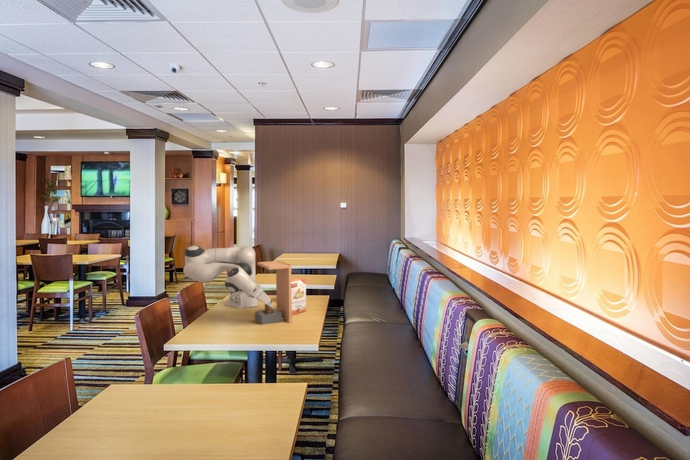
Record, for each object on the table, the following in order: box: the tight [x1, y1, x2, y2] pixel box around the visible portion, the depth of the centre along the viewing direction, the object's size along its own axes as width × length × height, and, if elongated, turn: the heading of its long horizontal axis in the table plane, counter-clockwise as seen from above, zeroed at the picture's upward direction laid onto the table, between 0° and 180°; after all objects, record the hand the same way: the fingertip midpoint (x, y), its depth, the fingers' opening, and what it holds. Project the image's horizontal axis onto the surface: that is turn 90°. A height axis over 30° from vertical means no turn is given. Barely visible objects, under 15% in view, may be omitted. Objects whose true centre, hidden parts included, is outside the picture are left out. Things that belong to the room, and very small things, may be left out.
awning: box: [256, 260, 293, 324], centre depth 244 cm, size 13×20×33 cm, turn 30°
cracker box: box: [291, 277, 307, 316], centre depth 259 cm, size 14×6×21 cm, turn 143°
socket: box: [254, 308, 283, 325], centre depth 243 cm, size 12×12×5 cm
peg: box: [264, 299, 273, 314], centre depth 243 cm, size 4×4×12 cm
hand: (269, 304), depth 243 cm, fingers open, 8 cm apart
